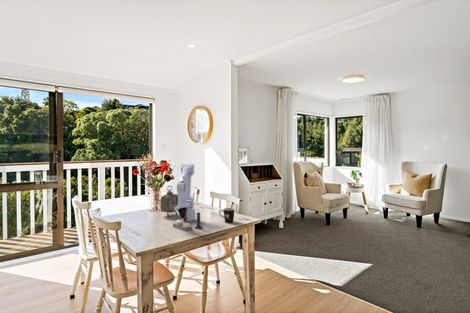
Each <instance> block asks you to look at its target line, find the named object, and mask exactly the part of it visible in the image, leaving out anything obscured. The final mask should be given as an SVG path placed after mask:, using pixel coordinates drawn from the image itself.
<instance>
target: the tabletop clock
mask: <svg viewBox="0 0 470 313" xmlns="http://www.w3.org/2000/svg"><path fill="white" fill-rule="evenodd" d="M169 187H170V188H171V189H170V188H169ZM166 191H167V192H166V194H163V195H162V196H160V199H159V200H160V201H159V202H160V203H159V204H160V211H161V212H163V213H166V215H167V216H166V217H167V218H169V217H170V214H172V213H175V215H178V210H174V207H176V206H177V205H178V193H177V194H175V193H173V186H172V185H168V186H167V188H166Z"/></svg>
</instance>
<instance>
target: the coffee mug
mask: <svg viewBox="0 0 470 313" xmlns="http://www.w3.org/2000/svg"><path fill="white" fill-rule="evenodd" d="M221 212H223V215H224V216H223V215H222V213H221ZM218 213H219V215H220V216H221V217H222V218H223V219H224V223H226V224H232V223H234V218H235V208H233V207H224V208H223V209H220V210H219V212H218Z"/></svg>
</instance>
